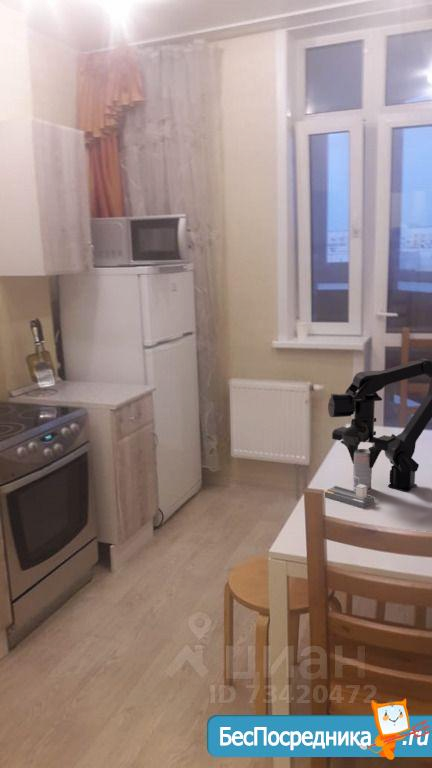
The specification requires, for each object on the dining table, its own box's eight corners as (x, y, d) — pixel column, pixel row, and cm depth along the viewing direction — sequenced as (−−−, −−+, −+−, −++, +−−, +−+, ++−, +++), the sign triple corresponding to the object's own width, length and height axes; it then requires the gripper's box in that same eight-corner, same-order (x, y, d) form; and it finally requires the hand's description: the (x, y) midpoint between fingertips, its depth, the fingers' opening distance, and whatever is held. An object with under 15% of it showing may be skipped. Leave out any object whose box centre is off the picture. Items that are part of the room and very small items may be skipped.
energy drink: (368, 485, 187) (369, 448, 184) (373, 492, 182) (374, 454, 179) (350, 486, 187) (352, 449, 184) (355, 493, 181) (356, 454, 179)
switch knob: (366, 497, 174) (366, 485, 173) (362, 499, 172) (362, 488, 172) (360, 495, 176) (360, 483, 175) (355, 497, 174) (355, 486, 173)
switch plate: (374, 501, 175) (374, 494, 174) (363, 508, 171) (363, 501, 170) (335, 490, 184) (335, 484, 183) (324, 496, 179) (324, 489, 179)
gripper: (321, 415, 180) (321, 465, 183) (378, 426, 167) (377, 480, 171) (342, 408, 188) (341, 456, 191) (398, 418, 175) (396, 470, 178)
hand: (362, 465), depth 183 cm, fingers closed on energy drink, 5 cm apart
